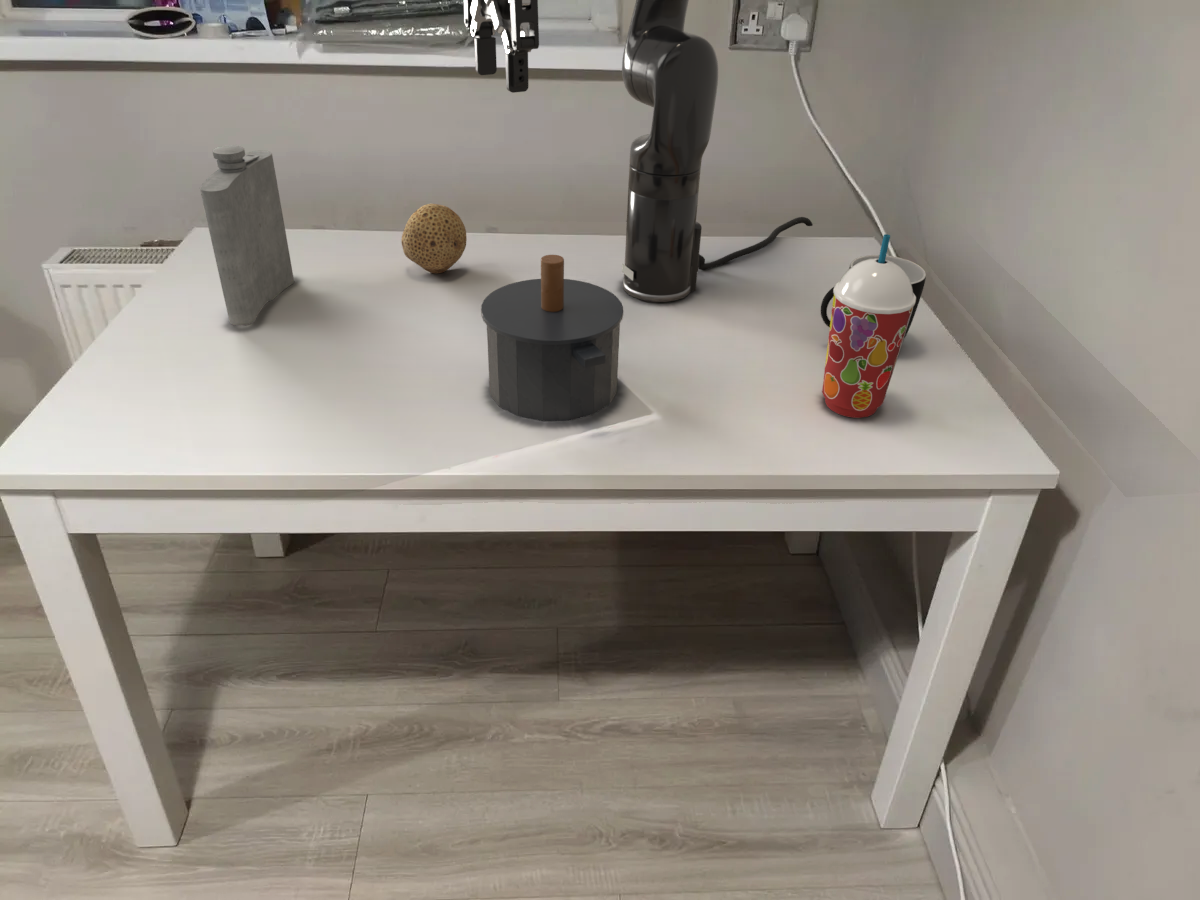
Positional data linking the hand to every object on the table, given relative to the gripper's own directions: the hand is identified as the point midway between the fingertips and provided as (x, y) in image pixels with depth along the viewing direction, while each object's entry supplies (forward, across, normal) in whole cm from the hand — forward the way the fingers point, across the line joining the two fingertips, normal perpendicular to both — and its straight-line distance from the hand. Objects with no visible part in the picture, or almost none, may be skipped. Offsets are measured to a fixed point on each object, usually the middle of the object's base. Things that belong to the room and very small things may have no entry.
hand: (501, 82), depth 98 cm
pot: (+30, -15, +1) cm, 34 cm away
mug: (+30, -21, -39) cm, 54 cm away
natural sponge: (+30, +21, +2) cm, 37 cm away
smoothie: (+30, -32, -28) cm, 52 cm away
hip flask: (+30, +22, +26) cm, 46 cm away
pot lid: (+20, -15, +1) cm, 25 cm away
